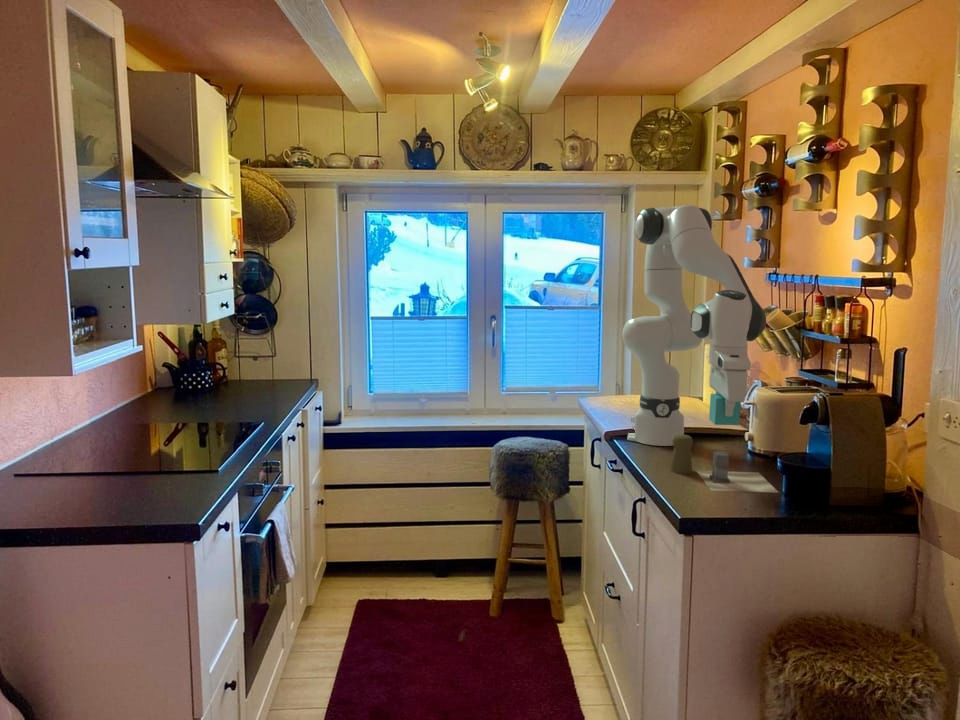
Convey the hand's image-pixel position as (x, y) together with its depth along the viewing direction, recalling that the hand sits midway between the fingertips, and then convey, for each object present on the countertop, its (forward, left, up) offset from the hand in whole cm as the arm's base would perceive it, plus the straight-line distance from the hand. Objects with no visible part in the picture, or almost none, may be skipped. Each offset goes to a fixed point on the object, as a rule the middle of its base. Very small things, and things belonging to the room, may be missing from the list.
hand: (724, 412), depth 181 cm
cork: (-8, -8, -19) cm, 22 cm away
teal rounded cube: (0, 0, -3) cm, 2 cm away
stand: (0, +4, -19) cm, 19 cm away
